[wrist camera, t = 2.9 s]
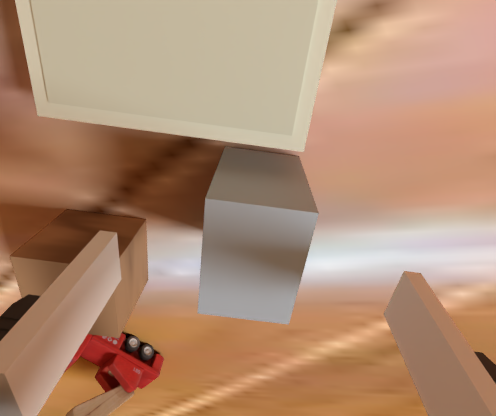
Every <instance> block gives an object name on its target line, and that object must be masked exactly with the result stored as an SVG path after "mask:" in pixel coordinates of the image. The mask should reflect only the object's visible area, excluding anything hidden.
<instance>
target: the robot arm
mask: <svg viewBox="0 0 496 416" xmlns="http://www.w3.org/2000/svg"><path fill="white" fill-rule="evenodd" d="M120 281H121V269H120V259H119V249H118V239H117V233H116V232H109V231H101V230H100V231H99V232H98V233H97V234H96V235H95V236H94V237H93V239H92V240H91V241H90V242H89V243H88V244H87V245H86V246H85V247H84V249H83V250H82V251H81V252H80V253H79V254H78V255H77V256H76V258H75V259H74V260H73V261H72V262H71V263H70V264H69V265H68V266H67V268H66V269H65V270H64V271H63V272H62V273H61V274H60V275H59V276H58V278H57V279H56V280H55V281H54V282H53V283H52V284H51V285H50V286H49V288H48V289H47V290H46V291H45V292H44V293H43V294H42V295H41V296H38V295H31V294H28V295H26V296H25V297H23V298H22V299H20V300H18V301H17V302H15V303H13V304H12V305H11V306H10V307H9V308H8V309H7V310H6V311H5V312H4V313H3V314H2V315H1V316H0V416H37V415H38V413H39V412H40V410H41V408H42V407H43V405H44V404H45V402H46V400H47V399H48V397H49V395H50V394H51V392H52V391H53V389H54V387H55V386H56V384H57V383H58V381H59V379H60V378H61V376H62V374H63V373H64V371H65V370H66V368H67V366H68V365H69V363H70V362H71V360H72V358H73V357H74V355H75V353H76V352H77V350H78V349H79V347H80V345H81V344H82V342H83V341H84V339H85V337H86V336H87V334H88V332H89V331H90V329H91V328H92V326H93V324H94V323H95V321H96V320H97V318H98V316H99V315H100V313H101V311H102V310H103V308H104V307H105V305H106V303H107V302H108V300H109V298H110V297H111V295H112V294H113V292H114V290H115V289H116V287H117V286H118V284H119V282H120ZM384 316H385V318H386V320H387V322H388V325H389V327H390V329H391V332H392V334H393V336H394V338H395V341H396V343H397V345H398V348H399V350H400V352H401V354H402V357H403V359H404V361H405V364H406V366H407V368H408V370H409V373H410V375H411V377H412V380H413V382H414V384H415V386H416V389H417V391H418V393H419V396H420V398H421V400H422V402H423V405H424V407H425V409H426V412H427V414H428V416H496V365H495V364H494V363H493V362H492V361H491V360H490V359H488V358H487V357H486V356H485V355H484V354H483V353H480V352H474V351H473V350H472V348H471V347H470V345H469V344H468V342H467V341H466V339H465V338H464V336H463V335H462V334H461V332H460V331H459V329H458V328H457V326H456V325H455V323H454V322H453V320H452V319H451V317H450V316H449V314H448V313H447V311H446V310H445V308H444V307H443V305H442V304H441V303H440V301H439V300H438V298H437V297H436V295H435V294H434V292H433V291H432V289H431V288H430V286H429V285H428V283H427V282H426V280H425V279H424V277H423V276H422V274H421V273H415V272H407V271H404V272H403V274H402V277H401V279H400V281H399V283H398V285H397V287H396V289H395V291H394V293H393V295H392V297H391V299H390V302H389V304H388V306H387V308H386V310H385V312H384Z"/></svg>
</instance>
